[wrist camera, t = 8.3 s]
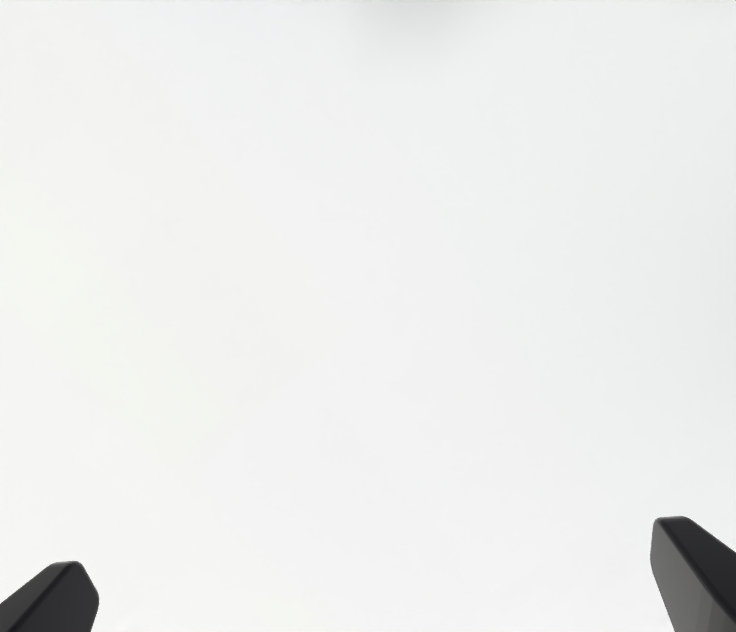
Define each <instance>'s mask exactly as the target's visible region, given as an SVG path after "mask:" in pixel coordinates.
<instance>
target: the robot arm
mask: <svg viewBox="0 0 736 632" xmlns="http://www.w3.org/2000/svg"><path fill="white" fill-rule="evenodd" d="M650 562H651V568H652V571H653V575H654V578H655V580H656V583H657V585H658V588H659V591H660V593H661V596H662V599H663V601H664V604H665V607H666V609H667V612H668V615H669V617H670V620H671V623H672V625H673V628H674V631H675V632H736V552H734V551H733V550H732V549H730V548H729V547H728V546H726V545H725V544H724V543H722V542H721V541H720V540H718V539H717V538H715V537H714V536H713V535H711V534H710V533H709V532H707V531H706V530H705V529H703V528H702V527H701V526H699V525H698V524H697V523H695V522H694V521H692V520H691V519H689V518H687V517H684V516H674V517H660V518H657V519H656V520H655V521H654V524H653V532H652V542H651V553H650ZM98 606H99V595H98V592H97V590H96V588H95V586H94V585H93V583H92V581H91V579H90V577H89V576H88V574H87V572H86V570H85V568H84V567H83V565H82V564H81V563H79V562H78V561H67V562H56V563H53V564H51V565H49V566H48V567H46V568H45V569H44V570H43V571H41V572H40V573H39V574H37V575H36V576H35V577H34V578H32V579H31V580H30V581H29V582H27V583H26V584H25V585H23V586H22V587H21V588H20V589H18V590H17V591H16V592H15V593H13V594H12V595H11V596H9V597H8V598H7V599H6V600H4V601H3V602H2V603H1V604H0V632H91V629H92V626H93V623H94V620H95V617H96V614H97V611H98Z"/></svg>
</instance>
